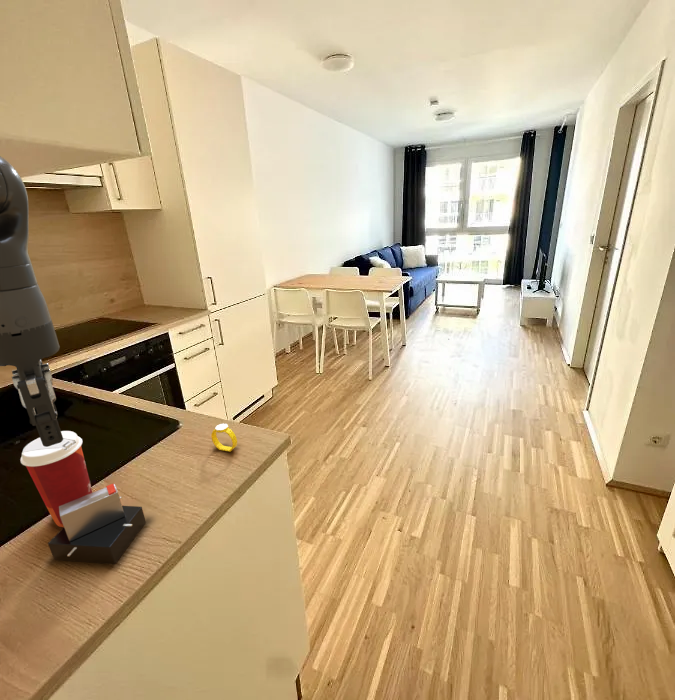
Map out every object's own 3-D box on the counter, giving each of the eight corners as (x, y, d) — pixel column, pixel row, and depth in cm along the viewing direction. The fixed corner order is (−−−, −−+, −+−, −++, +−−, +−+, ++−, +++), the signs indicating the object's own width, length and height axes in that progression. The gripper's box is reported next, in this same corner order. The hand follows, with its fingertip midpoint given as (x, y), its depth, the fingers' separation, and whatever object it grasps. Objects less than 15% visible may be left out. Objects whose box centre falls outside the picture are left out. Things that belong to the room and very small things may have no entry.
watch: (240, 448, 81) (237, 425, 79) (233, 455, 79) (229, 432, 77) (219, 443, 83) (215, 421, 81) (211, 450, 81) (207, 427, 79)
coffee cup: (112, 498, 67) (91, 429, 62) (78, 534, 60) (51, 459, 54) (72, 495, 68) (47, 428, 63) (33, 531, 61) (2, 457, 55)
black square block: (39, 571, 54) (31, 553, 52) (95, 511, 65) (89, 494, 63) (112, 576, 53) (106, 558, 51) (156, 514, 63) (152, 497, 62)
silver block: (69, 542, 54) (59, 515, 52) (68, 531, 56) (58, 505, 54) (125, 516, 59) (117, 490, 57) (121, 507, 60) (114, 482, 59)
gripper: (-22, 316, 49) (17, 419, 55) (-31, 342, 39) (18, 465, 44) (47, 307, 53) (76, 403, 59) (55, 328, 43) (89, 442, 49)
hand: (51, 430), depth 52 cm, fingers open, 8 cm apart
